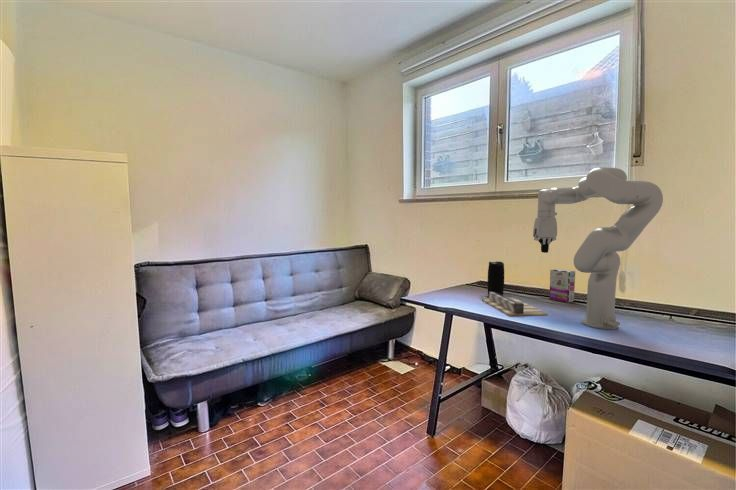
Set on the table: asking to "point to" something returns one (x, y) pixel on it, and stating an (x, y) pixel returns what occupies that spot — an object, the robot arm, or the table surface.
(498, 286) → the portable speaker
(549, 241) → the robot arm
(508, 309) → the tongs board
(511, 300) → the tongs arm
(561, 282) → the candy bar box
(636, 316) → the table surface
